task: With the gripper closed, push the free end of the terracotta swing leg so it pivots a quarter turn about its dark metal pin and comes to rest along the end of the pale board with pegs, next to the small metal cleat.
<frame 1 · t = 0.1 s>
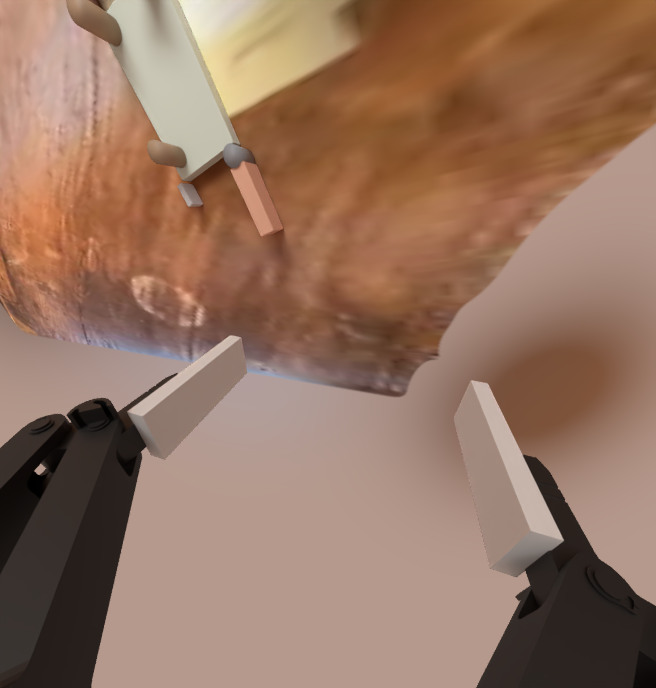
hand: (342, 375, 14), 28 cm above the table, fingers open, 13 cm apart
pale board with pegs: (178, 90, 32), on the table
swing leg: (254, 192, 34), point 2 cm above the table, hinge at 0.0°
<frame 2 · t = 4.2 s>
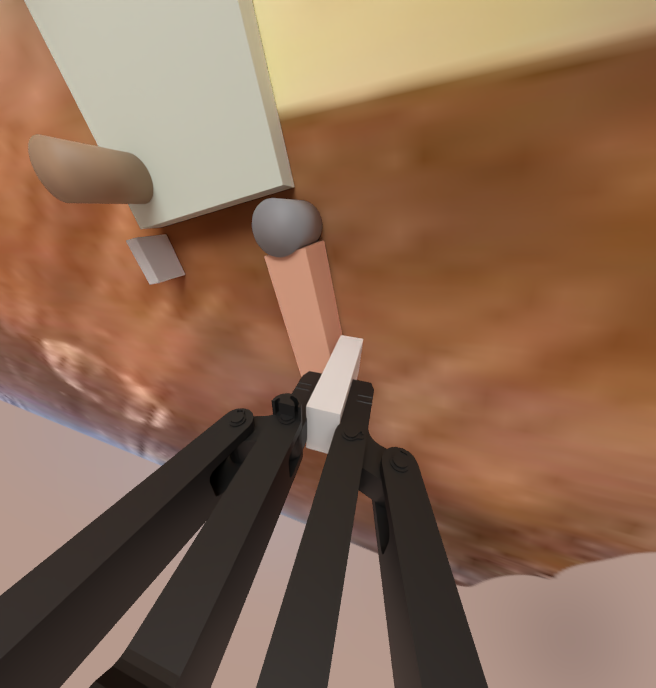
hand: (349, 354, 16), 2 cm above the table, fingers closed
pale board with pegs: (145, 2, 11), on the table
swing leg: (309, 302, 15), point 2 cm above the table, hinge at 0.2°, touching gripper
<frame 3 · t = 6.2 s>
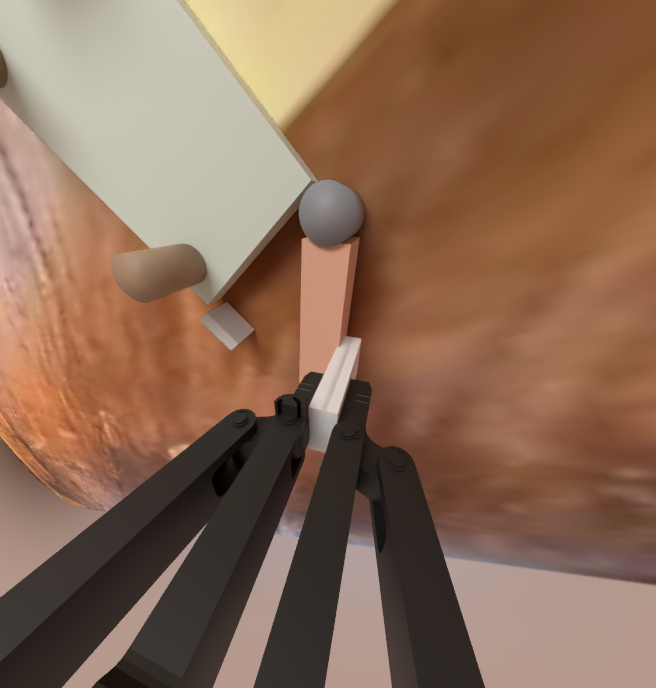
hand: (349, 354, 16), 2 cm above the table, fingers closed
pale board with pegs: (152, 124, 14), on the table
swing leg: (328, 297, 14), point 2 cm above the table, hinge at 46.4°, touching gripper
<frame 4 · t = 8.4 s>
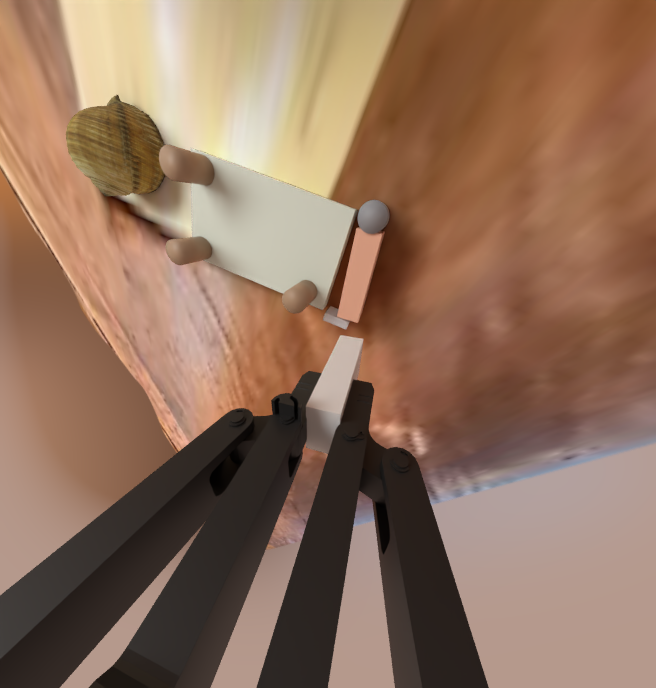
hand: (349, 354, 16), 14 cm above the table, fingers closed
pale board with pegs: (269, 234, 27), on the table
swing leg: (362, 264, 24), point 2 cm above the table, hinge at 82.8°
seashell: (139, 154, 27), on the table
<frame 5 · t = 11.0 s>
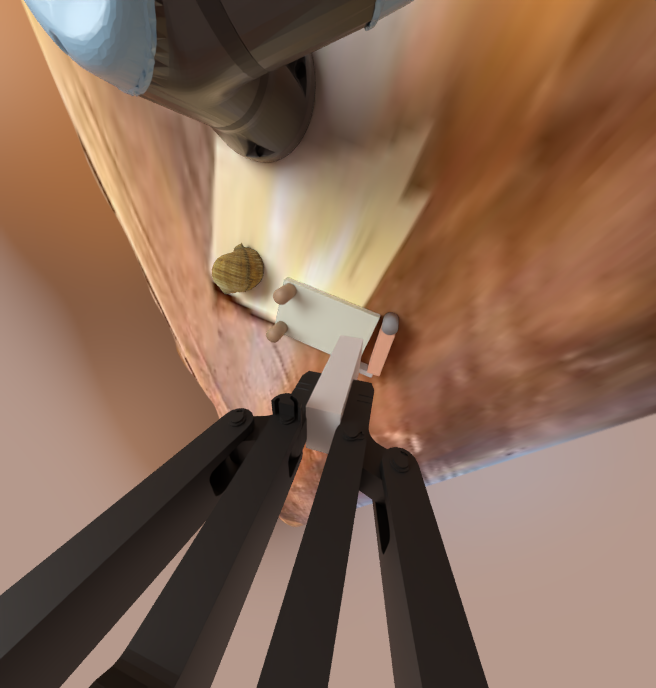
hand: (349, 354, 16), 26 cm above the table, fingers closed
pale board with pegs: (324, 321, 45), on the table
swing leg: (382, 344, 42), point 2 cm above the table, hinge at 82.8°
seashell: (244, 267, 44), on the table
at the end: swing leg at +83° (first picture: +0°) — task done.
